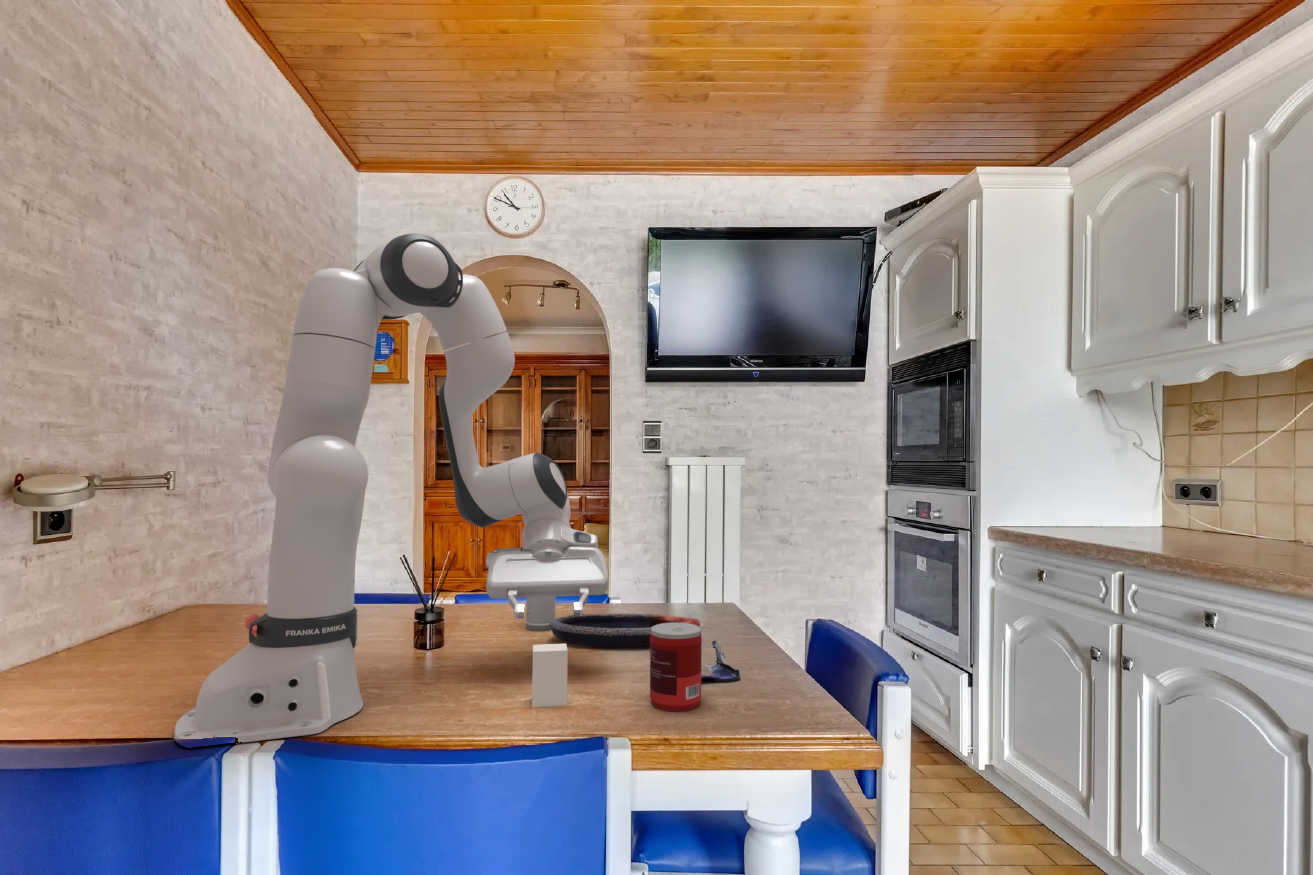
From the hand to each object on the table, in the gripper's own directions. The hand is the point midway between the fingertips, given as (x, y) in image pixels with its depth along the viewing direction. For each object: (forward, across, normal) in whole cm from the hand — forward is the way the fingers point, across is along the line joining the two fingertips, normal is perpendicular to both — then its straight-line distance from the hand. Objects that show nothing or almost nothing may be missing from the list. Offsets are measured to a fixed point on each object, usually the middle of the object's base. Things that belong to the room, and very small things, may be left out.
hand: (549, 615), depth 108 cm
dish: (-10, +16, +27) cm, 33 cm away
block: (+13, 0, +2) cm, 14 cm away
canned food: (+16, +18, 0) cm, 24 cm away
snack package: (+7, +27, +10) cm, 29 cm away
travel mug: (-20, 0, +37) cm, 42 cm away
